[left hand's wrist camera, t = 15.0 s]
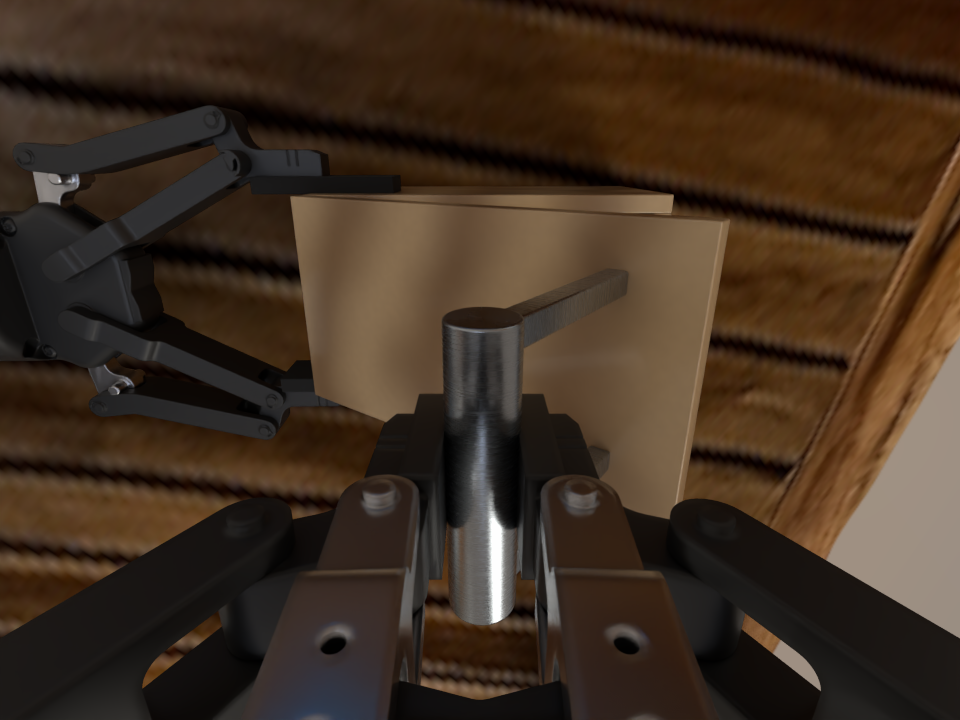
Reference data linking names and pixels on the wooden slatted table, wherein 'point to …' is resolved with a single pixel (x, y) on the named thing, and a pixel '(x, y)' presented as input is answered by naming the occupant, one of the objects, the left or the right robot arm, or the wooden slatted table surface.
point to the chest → (534, 197)
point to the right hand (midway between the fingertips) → (402, 285)
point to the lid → (514, 347)
